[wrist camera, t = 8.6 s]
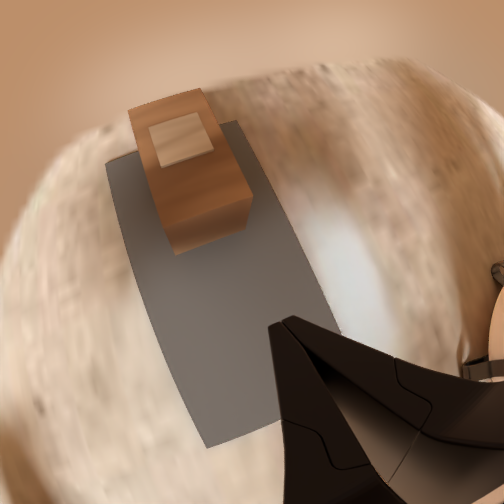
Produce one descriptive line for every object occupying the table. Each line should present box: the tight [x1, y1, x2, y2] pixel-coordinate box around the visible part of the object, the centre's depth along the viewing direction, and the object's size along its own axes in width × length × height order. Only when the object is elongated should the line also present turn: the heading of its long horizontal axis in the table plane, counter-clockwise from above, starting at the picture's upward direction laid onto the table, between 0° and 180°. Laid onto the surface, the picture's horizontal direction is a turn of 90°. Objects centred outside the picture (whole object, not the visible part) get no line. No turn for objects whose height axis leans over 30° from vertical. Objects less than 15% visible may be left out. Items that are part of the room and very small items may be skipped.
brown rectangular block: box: [128, 88, 253, 256], centre depth 17 cm, size 5×5×8 cm
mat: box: [105, 120, 341, 448], centre depth 18 cm, size 20×10×1 cm, turn 23°
